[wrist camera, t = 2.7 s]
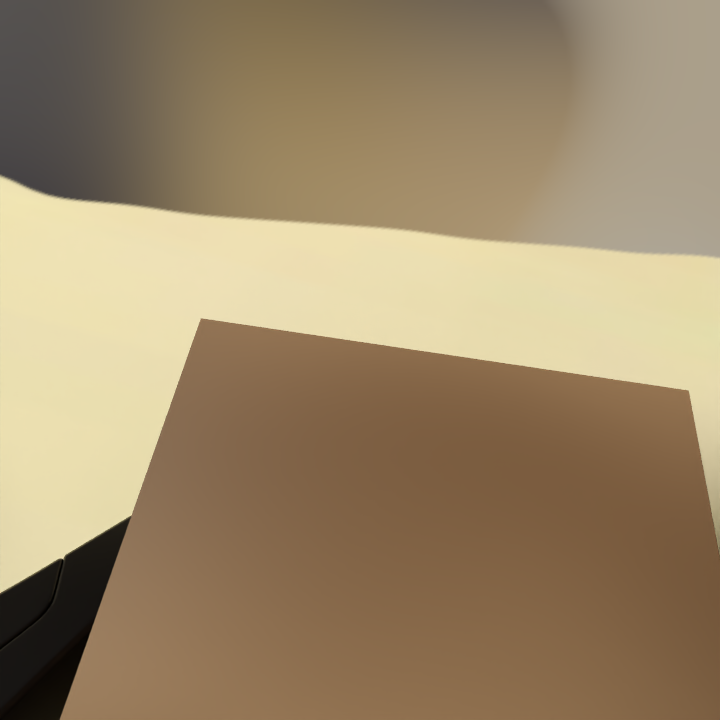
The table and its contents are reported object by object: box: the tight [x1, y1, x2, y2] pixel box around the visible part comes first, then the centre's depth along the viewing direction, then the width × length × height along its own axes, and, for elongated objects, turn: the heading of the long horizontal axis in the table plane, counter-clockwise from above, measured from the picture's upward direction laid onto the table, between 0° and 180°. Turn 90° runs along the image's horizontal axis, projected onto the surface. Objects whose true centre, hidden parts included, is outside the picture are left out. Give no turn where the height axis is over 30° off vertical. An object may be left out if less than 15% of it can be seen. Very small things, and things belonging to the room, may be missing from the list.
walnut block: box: [60, 319, 720, 720], centre depth 8 cm, size 5×5×12 cm
